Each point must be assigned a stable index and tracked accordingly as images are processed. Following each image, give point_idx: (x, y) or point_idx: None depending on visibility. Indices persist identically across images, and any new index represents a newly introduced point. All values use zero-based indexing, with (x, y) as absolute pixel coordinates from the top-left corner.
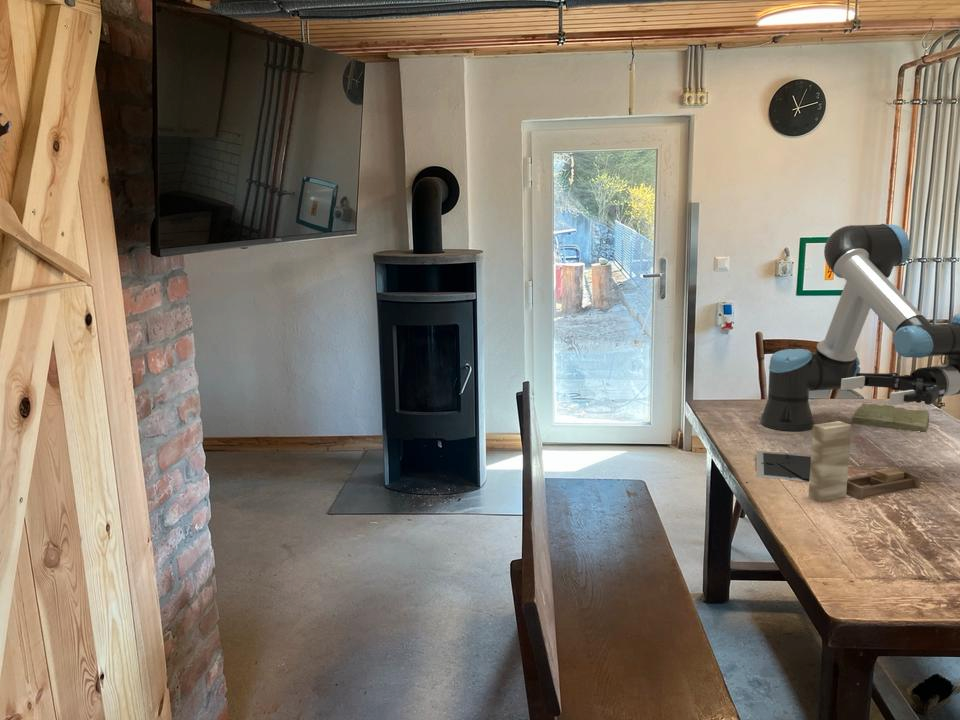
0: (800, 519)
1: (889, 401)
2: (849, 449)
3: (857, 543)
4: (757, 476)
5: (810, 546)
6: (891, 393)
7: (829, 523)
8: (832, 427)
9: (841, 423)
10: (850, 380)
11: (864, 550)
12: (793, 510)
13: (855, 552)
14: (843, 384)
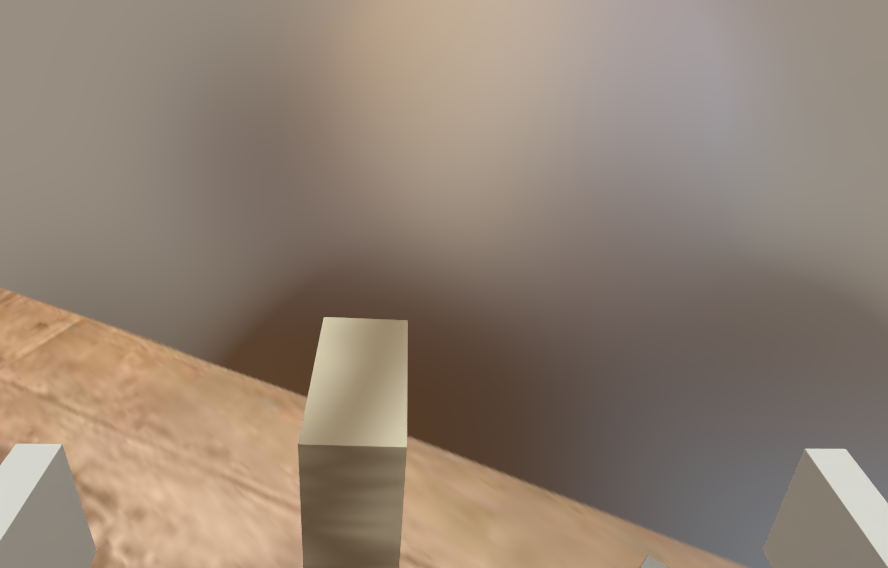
0: (290, 477)
1: (83, 525)
2: (303, 560)
3: None
4: (646, 557)
5: (158, 396)
6: (41, 446)
7: (213, 526)
8: (324, 350)
9: (356, 423)
10: (857, 563)
11: None
12: None
13: None
14: (785, 500)
